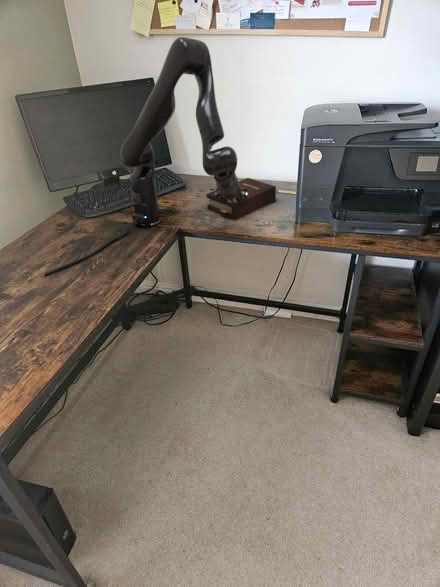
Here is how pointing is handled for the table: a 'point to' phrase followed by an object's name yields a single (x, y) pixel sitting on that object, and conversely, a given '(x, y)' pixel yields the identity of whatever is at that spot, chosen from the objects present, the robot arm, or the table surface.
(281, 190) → the tape mark
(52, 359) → the table surface
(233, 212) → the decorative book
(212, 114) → the robot arm
